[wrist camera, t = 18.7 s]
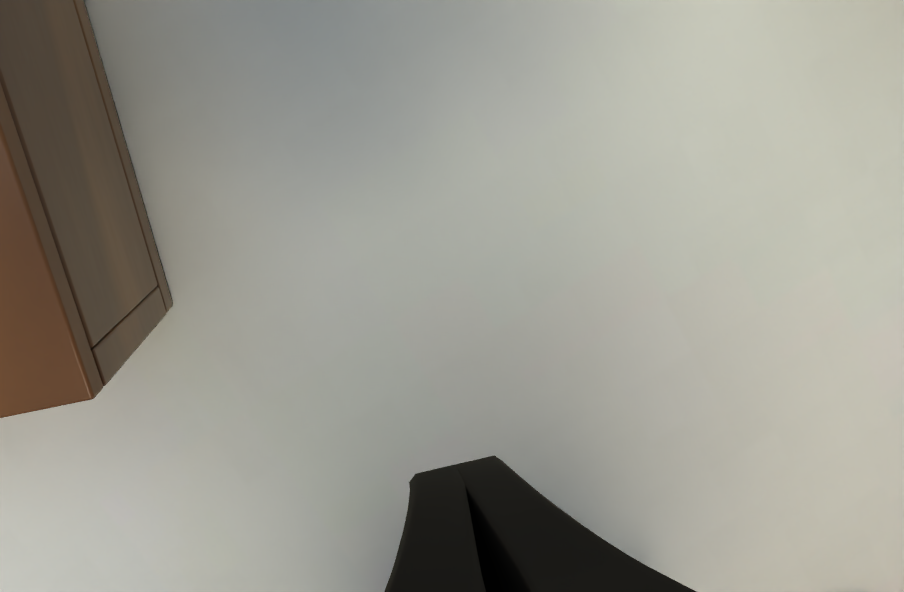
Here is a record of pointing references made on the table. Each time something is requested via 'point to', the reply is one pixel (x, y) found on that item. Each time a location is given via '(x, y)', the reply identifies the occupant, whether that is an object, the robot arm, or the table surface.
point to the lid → (35, 298)
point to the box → (82, 174)
